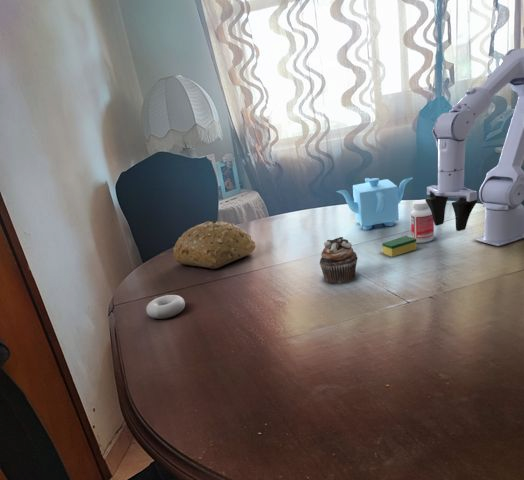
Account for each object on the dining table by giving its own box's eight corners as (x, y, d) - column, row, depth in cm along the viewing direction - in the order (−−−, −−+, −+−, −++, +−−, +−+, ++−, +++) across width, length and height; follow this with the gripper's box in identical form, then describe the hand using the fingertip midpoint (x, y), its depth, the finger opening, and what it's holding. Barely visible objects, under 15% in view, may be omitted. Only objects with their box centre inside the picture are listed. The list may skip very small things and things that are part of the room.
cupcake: (314, 278, 123) (310, 241, 118) (345, 268, 125) (342, 231, 120) (333, 288, 115) (329, 249, 110) (366, 277, 117) (363, 238, 112)
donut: (187, 302, 124) (150, 308, 124) (184, 290, 122) (147, 296, 122) (185, 317, 115) (145, 324, 115) (182, 304, 113) (141, 311, 113)
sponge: (406, 246, 132) (406, 235, 131) (416, 249, 129) (416, 238, 127) (382, 253, 130) (382, 243, 129) (392, 256, 127) (391, 246, 125)
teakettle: (384, 234, 146) (382, 185, 139) (336, 230, 158) (332, 185, 151) (415, 217, 156) (415, 171, 149) (368, 214, 169) (366, 172, 162)
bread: (168, 266, 154) (158, 231, 149) (215, 246, 167) (207, 212, 161) (216, 275, 139) (207, 236, 133) (264, 251, 151) (257, 214, 145)
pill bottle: (438, 238, 133) (438, 199, 128) (423, 244, 131) (423, 205, 126) (420, 235, 138) (420, 197, 133) (406, 241, 136) (405, 203, 130)
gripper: (416, 171, 112) (417, 226, 119) (459, 175, 100) (457, 236, 107) (440, 164, 114) (439, 219, 121) (485, 168, 102) (482, 229, 108)
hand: (449, 227), depth 114 cm, fingers open, 7 cm apart
